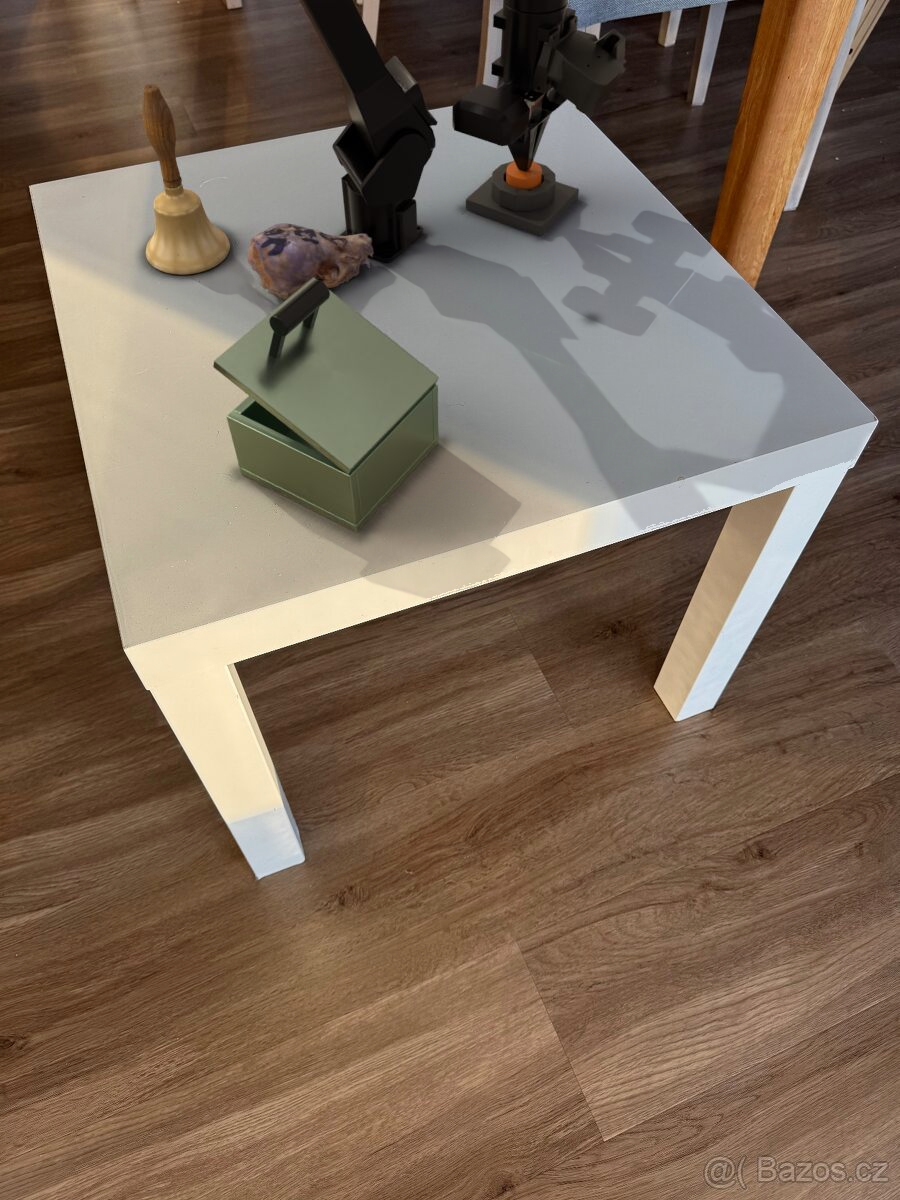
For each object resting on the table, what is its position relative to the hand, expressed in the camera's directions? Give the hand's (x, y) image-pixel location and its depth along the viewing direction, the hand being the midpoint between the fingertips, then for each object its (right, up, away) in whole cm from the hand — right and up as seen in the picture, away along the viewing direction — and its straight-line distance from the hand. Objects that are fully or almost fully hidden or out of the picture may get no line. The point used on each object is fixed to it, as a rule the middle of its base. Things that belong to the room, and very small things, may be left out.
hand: (524, 169), depth 96 cm
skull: (-21, -13, -4) cm, 25 cm away
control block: (0, -2, +3) cm, 4 cm away
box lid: (-17, -27, -26) cm, 41 cm away
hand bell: (-34, -9, -1) cm, 35 cm away
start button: (0, -1, +1) cm, 2 cm away
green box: (-16, -32, -19) cm, 41 cm away
